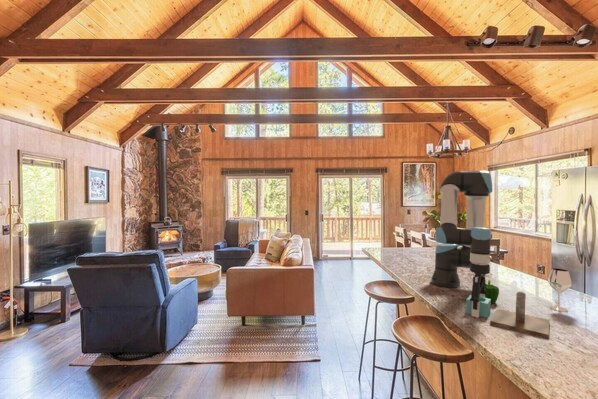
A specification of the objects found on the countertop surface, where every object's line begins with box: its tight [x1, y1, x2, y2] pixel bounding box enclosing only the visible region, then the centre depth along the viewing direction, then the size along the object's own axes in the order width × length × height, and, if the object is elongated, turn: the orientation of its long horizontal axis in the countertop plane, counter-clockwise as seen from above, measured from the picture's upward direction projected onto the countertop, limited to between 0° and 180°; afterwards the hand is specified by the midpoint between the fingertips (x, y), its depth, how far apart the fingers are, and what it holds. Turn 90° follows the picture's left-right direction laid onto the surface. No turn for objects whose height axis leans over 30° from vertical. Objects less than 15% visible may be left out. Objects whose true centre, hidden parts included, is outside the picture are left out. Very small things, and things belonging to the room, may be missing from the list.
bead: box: [465, 294, 492, 319], centre depth 135 cm, size 8×8×6 cm
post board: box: [489, 291, 550, 340], centre depth 124 cm, size 18×18×13 cm
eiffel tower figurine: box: [468, 272, 493, 278], centre depth 204 cm, size 15×10×13 cm
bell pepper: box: [485, 279, 500, 304], centre depth 150 cm, size 8×8×10 cm
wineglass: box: [547, 267, 573, 313], centre depth 142 cm, size 8×8×18 cm
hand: (478, 312), depth 135 cm, fingers open, 12 cm apart
